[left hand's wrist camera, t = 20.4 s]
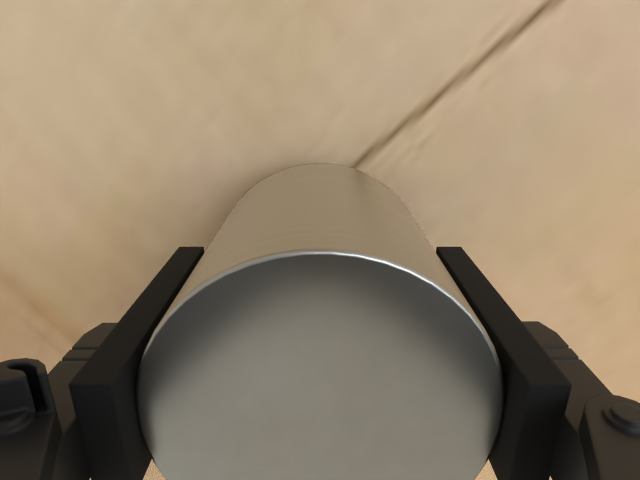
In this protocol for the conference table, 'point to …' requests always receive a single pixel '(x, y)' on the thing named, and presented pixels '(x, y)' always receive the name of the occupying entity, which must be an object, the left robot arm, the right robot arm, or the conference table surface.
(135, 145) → the conference table surface
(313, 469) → the can
